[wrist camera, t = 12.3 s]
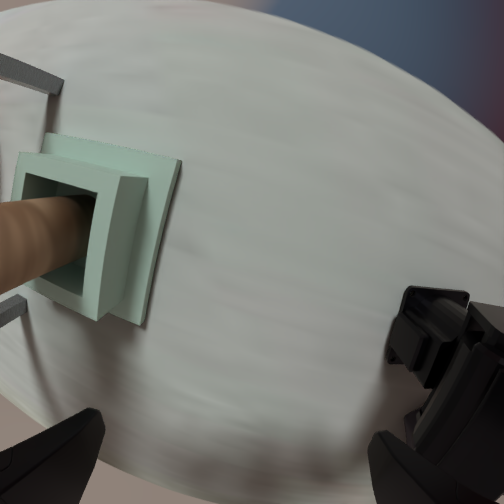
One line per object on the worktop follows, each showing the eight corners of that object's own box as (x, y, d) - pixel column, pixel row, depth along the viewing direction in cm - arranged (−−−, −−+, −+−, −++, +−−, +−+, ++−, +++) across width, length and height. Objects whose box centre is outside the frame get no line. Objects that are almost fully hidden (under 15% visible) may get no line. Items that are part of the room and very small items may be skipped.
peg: (118, 224, 19) (-29, 271, 7) (86, 266, 20) (-42, 335, 7) (81, 181, 18) (-65, 190, 6) (53, 225, 19) (-79, 262, 7)
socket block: (181, 160, 19) (154, 152, 14) (144, 320, 21) (116, 351, 16) (53, 133, 19) (12, 126, 14) (32, 270, 21) (-5, 286, 16)
